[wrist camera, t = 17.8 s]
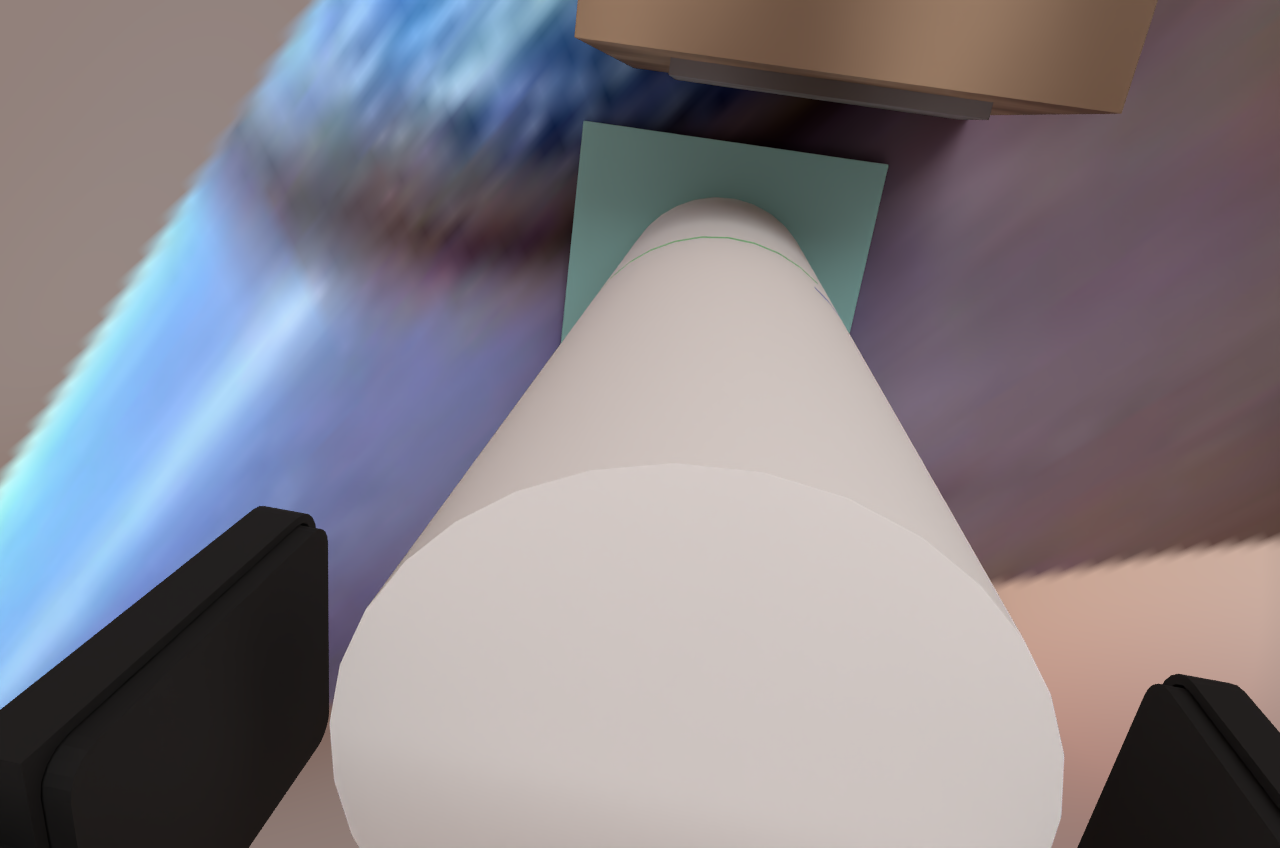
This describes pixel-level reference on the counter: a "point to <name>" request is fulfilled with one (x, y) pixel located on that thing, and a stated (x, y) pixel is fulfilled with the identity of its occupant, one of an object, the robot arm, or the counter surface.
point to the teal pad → (704, 168)
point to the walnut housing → (889, 50)
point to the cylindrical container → (696, 599)
